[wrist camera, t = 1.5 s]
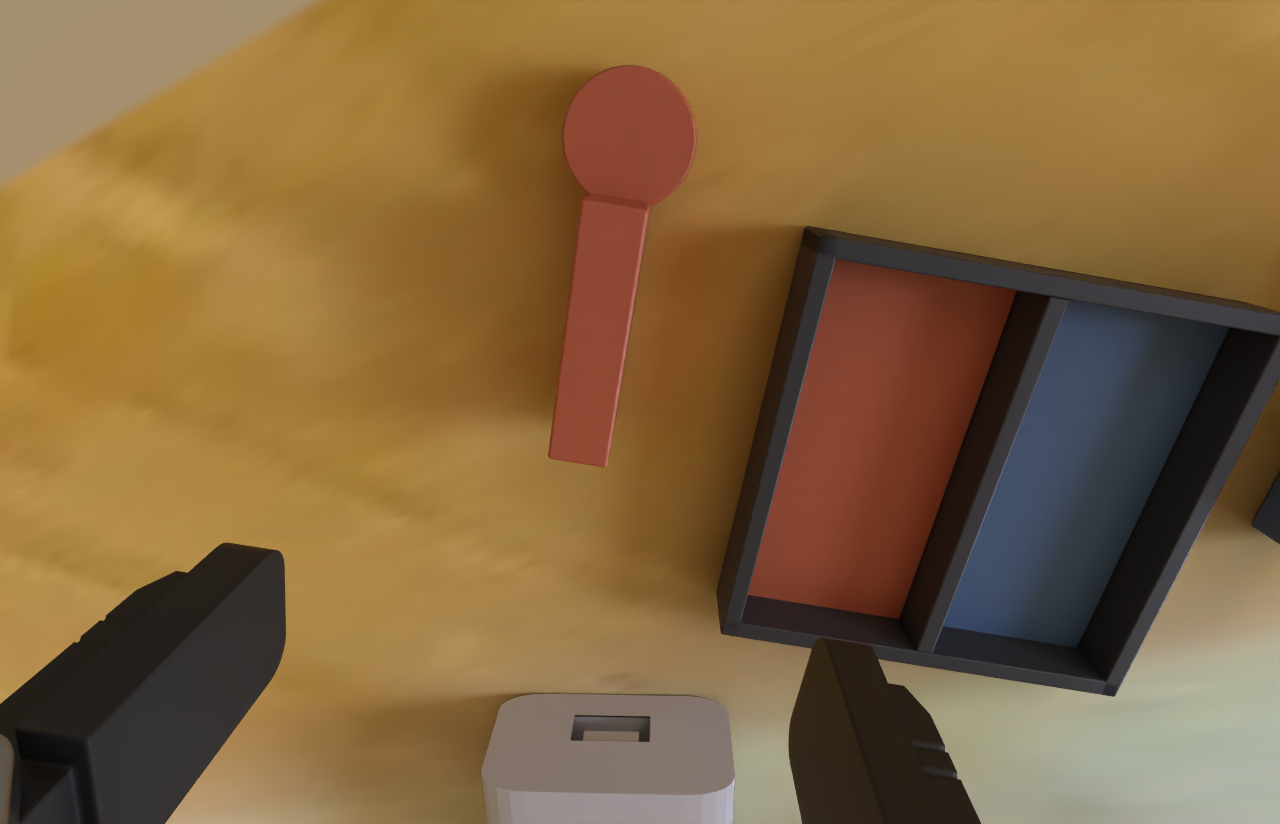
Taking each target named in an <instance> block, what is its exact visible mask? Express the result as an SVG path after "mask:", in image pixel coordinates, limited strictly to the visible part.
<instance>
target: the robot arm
mask: <svg viewBox="0 0 1280 824" xmlns="http://www.w3.org/2000/svg"><path fill="white" fill-rule="evenodd" d="M285 639H286V617H285V567H284V559H283V556H282V554H281V553H280V552H279V551H278V550H271V549H265V548H259V547H252V546H246V545H239V544H233V543H223V544H221V545H219V546H218V547H216V548H215V549H214V550H213V551H212V552H211V553H210V554H208V555H207V556H206V557H205V558H204V559H203V560H202V561H201V562H199V563H198V564H197V565H196V566H195V567H194V568H193V569H192V570H191V571H189V572H188V573H186V572H180V571H175V572H173V573H171V574H169V575H167V576H165V577H163V578H161V579H159V580H157V581H154V582H152V583H150V584H148V585H146V586H144V587H142V588H140V589H138V590H136V591H135V592H133V593H132V594H131V595H130V596H129V597H128V598H126V599H125V600H124V601H123V602H122V603H120V604H119V605H118V606H117V607H116V608H114V609H113V610H112V611H111V612H110V613H108V614H107V615H106V619H105V620H104V621H99V622H98V623H97V624H95V625H94V626H93V627H92V628H91V629H89V630H88V631H87V632H86V633H85V634H83V635H82V636H81V639H80V641H79V642H78V643H76V642H74V643H73V644H71V645H70V646H69V647H68V648H67V649H66V650H64V651H63V652H62V653H61V654H60V655H58V656H57V657H56V658H55V659H54V660H52V661H51V662H50V663H49V664H48V665H46V666H45V667H44V668H43V669H42V670H40V671H39V672H38V673H37V674H36V675H34V676H33V677H32V678H31V679H30V680H29V681H27V682H26V683H25V684H24V685H23V686H21V687H20V688H19V689H18V690H17V691H15V692H14V693H13V694H12V695H11V696H9V697H8V698H7V699H6V700H5V701H3V702H2V703H1V704H0V824H165V823H166V821H167V820H168V819H169V817H170V816H171V815H172V813H173V812H174V811H175V809H176V808H177V806H178V805H179V804H180V802H181V801H182V800H183V798H184V797H185V796H186V794H187V793H188V792H189V790H190V789H191V788H192V786H193V785H194V784H195V782H196V781H197V779H198V778H199V777H200V775H201V774H202V773H203V771H204V770H205V769H206V767H207V766H208V765H209V763H210V762H211V761H212V759H213V758H214V756H215V755H216V754H217V752H218V751H219V750H220V748H221V747H222V746H223V744H224V743H225V742H226V740H227V739H228V738H229V736H230V735H231V733H232V732H233V731H234V729H235V728H236V727H237V725H238V724H239V723H240V721H241V720H242V719H243V717H244V716H245V715H246V713H247V712H248V710H249V709H250V708H251V706H252V705H253V704H254V702H255V701H256V700H257V698H258V697H259V696H260V694H261V693H262V692H263V690H264V689H265V687H266V686H267V685H268V683H269V682H270V681H271V679H272V678H273V676H274V674H275V672H276V670H277V668H278V666H279V663H280V661H281V658H282V654H283V651H284V646H285ZM789 759H790V765H791V770H792V774H793V779H794V784H795V789H796V794H797V799H798V804H799V809H800V814H801V819H802V824H981V822H980V820H979V818H978V816H977V814H976V812H975V810H974V807H973V805H972V803H971V801H970V799H969V797H968V794H967V792H966V790H965V788H964V786H963V784H962V782H961V780H959V779H957V771H956V769H955V767H954V764H953V762H952V760H951V758H950V756H949V754H948V753H947V752H945V745H944V743H943V741H942V739H941V737H940V734H939V732H938V730H937V728H936V726H935V724H934V722H933V719H932V717H931V715H930V714H929V713H928V712H927V711H926V709H925V708H924V707H923V706H922V705H921V704H920V703H919V702H918V701H917V700H916V699H915V697H914V696H913V695H912V694H911V693H910V692H909V691H908V690H907V689H906V688H905V686H901V685H895V684H888V683H887V680H886V678H885V676H884V673H883V671H882V668H881V666H880V663H879V661H878V659H877V656H876V654H875V652H874V650H873V648H872V647H871V646H870V645H867V644H861V643H854V642H848V641H842V640H835V639H829V638H822V637H820V638H818V639H817V640H816V641H815V643H814V645H813V648H812V651H811V654H810V657H809V660H808V664H807V667H806V670H805V674H804V677H803V680H802V683H801V687H800V690H799V693H798V696H797V700H796V703H795V706H794V710H793V713H792V717H791V721H790V728H789Z"/></svg>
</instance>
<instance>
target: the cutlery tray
mask: <svg viewBox="0 0 1280 824" xmlns="http://www.w3.org/2000/svg"><path fill="white" fill-rule="evenodd" d="M1279 378H1280V312H1278V311H1275V310H1271V309H1267V308H1264V307H1260V306H1257V305H1253V304H1249V303H1246V302H1241V301H1235V300H1229V299H1224V298H1218V297H1212V296H1206V295H1201V294H1195V293H1189V292H1183V291H1178V290H1172V289H1166V288H1160V287H1155V286H1149V285H1143V284H1138V283H1132V282H1126V281H1120V280H1115V279H1109V278H1103V277H1097V276H1092V275H1086V274H1080V273H1074V272H1069V271H1063V270H1057V269H1051V268H1046V267H1040V266H1034V265H1029V264H1023V263H1017V262H1011V261H1006V260H1000V259H994V258H988V257H983V256H977V255H971V254H965V253H960V252H954V251H948V250H943V249H937V248H931V247H925V246H920V245H914V244H908V243H902V242H897V241H891V240H885V239H879V238H874V237H868V236H862V235H856V234H851V233H845V232H839V231H834V230H828V229H822V228H816V227H811V226H806V227H805V229H804V233H803V237H802V241H801V245H800V249H799V253H798V258H797V262H796V266H795V270H794V274H793V278H792V282H791V286H790V291H789V295H788V299H787V303H786V307H785V311H784V315H783V320H782V324H781V328H780V332H779V336H778V340H777V344H776V348H775V353H774V357H773V361H772V365H771V369H770V373H769V377H768V381H767V386H766V390H765V394H764V398H763V402H762V406H761V410H760V414H759V419H758V423H757V427H756V431H755V435H754V439H753V443H752V447H751V452H750V456H749V460H748V464H747V468H746V472H745V476H744V481H743V485H742V489H741V493H740V497H739V501H738V505H737V509H736V514H735V518H734V522H733V526H732V530H731V534H730V538H729V542H728V547H727V551H726V555H725V559H724V563H723V567H722V571H721V575H720V580H719V584H718V588H717V592H716V593H717V602H718V611H719V620H720V630H721V634H724V635H731V636H737V637H743V638H749V639H756V640H762V641H768V642H775V643H781V644H787V645H793V646H800V647H806V648H813V645H814V643H815V641H816V640H817V639H818V638H820V637H822V638H829V639H835V640H842V641H848V642H854V643H861V644H867V645H870V646H871V647H872V648H873V650H874V652H875V654H876V656H877V659H881V660H888V661H894V662H900V663H907V664H913V665H919V666H925V667H932V668H938V669H944V670H951V671H957V672H963V673H969V674H976V675H982V676H988V677H995V678H1001V679H1007V680H1013V681H1020V682H1026V683H1032V684H1039V685H1045V686H1051V687H1057V688H1064V689H1070V690H1076V691H1083V692H1089V693H1095V694H1101V695H1107V696H1113V697H1114V696H1115V695H1116V694H1117V692H1118V690H1119V688H1120V686H1121V684H1122V682H1123V680H1124V678H1125V676H1126V674H1127V672H1128V670H1129V668H1130V666H1131V664H1132V663H1133V661H1134V659H1135V657H1136V655H1137V653H1138V651H1139V649H1140V647H1141V645H1142V643H1143V641H1144V639H1145V637H1146V635H1147V634H1148V632H1149V630H1150V628H1151V626H1152V624H1153V622H1154V620H1155V618H1156V616H1157V614H1158V612H1159V610H1160V608H1161V606H1162V605H1163V603H1164V601H1165V599H1166V597H1167V595H1168V593H1169V591H1170V589H1171V587H1172V585H1173V583H1174V581H1175V579H1176V577H1177V576H1178V574H1179V572H1180V570H1181V568H1182V566H1183V564H1184V562H1185V560H1186V558H1187V556H1188V554H1189V552H1190V550H1191V548H1192V547H1193V545H1194V543H1195V541H1196V539H1197V537H1198V535H1199V533H1200V531H1201V529H1202V527H1203V525H1204V523H1205V521H1206V519H1207V518H1208V516H1209V514H1210V512H1211V510H1212V508H1213V506H1214V504H1215V502H1216V500H1217V498H1218V496H1219V494H1220V492H1221V490H1222V489H1223V487H1224V485H1225V483H1226V481H1227V479H1228V477H1229V475H1230V473H1231V471H1232V469H1233V467H1234V465H1235V463H1236V461H1237V460H1238V458H1239V456H1240V454H1241V452H1242V450H1243V448H1244V446H1245V444H1246V442H1247V440H1248V438H1249V436H1250V434H1251V432H1252V431H1253V429H1254V427H1255V425H1256V423H1257V421H1258V419H1259V417H1260V415H1261V413H1262V411H1263V409H1264V407H1265V405H1266V403H1267V402H1268V400H1269V398H1270V396H1271V394H1272V392H1273V390H1274V388H1275V386H1276V384H1277V382H1278V380H1279Z"/></svg>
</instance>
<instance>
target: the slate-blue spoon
mask: <svg viewBox="0 0 1280 824" xmlns="http://www.w3.org/2000/svg"><path fill="white" fill-rule="evenodd" d="M1252 526H1253V527H1254V528H1256V529H1257V530H1259V531H1260V532H1262V533H1263V534H1265V535H1266V536H1268V537H1270V538H1271V539H1273V540H1274V541H1276V542H1277V543H1279V544H1280V474H1279V476H1278V478H1277V480H1276V481H1275V483H1274V485H1273V487H1272V489H1271V491H1270V492H1269V494H1268V496H1267V498H1266V500H1265V502H1264V503H1263V505H1262V507H1261V509H1260V511H1259V513H1258V514H1257V516H1256V518H1255V520H1254V522H1253V524H1252Z"/></svg>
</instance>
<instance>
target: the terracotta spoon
mask: <svg viewBox="0 0 1280 824" xmlns="http://www.w3.org/2000/svg"><path fill="white" fill-rule="evenodd" d="M562 144H563V151H564V156H565V159H566V162H567V165H568V167H569V169H570V172H571V174H572V175H573V177H574V178H575V180H576V181H577V183H578V184H579V185H580V186H581V188H582V189H583V190H585V191H586V192H587V193H588V194H589V195H588V196H586V197H585V198H583V199H582V201H581V204H580V212H579V220H578V228H577V235H576V243H575V251H574V259H573V266H572V274H571V282H570V289H569V297H568V305H567V313H566V320H565V328H564V336H563V344H562V351H561V359H560V367H559V375H558V382H557V390H556V398H555V406H554V413H553V421H552V429H551V437H550V444H549V452H548V456H549V458H551V459H556V460H562V461H568V462H574V463H580V464H586V465H593V466H599V467H606V466H607V464H608V459H609V453H610V448H611V442H612V437H613V432H614V426H615V421H616V415H617V409H618V403H619V397H620V391H621V385H622V378H623V372H624V366H625V360H626V354H627V348H628V342H629V336H630V330H631V323H632V317H633V311H634V305H635V299H636V293H637V287H638V281H639V275H640V269H641V262H642V256H643V250H644V244H645V238H646V232H647V226H648V220H649V214H650V208H651V205H653V204H655V203H657V202H660V201H661V200H663V199H664V198H666V197H667V196H669V195H670V194H671V193H672V192H673V191H674V190H675V189H676V188H677V187H678V186H679V185H680V184H681V182H682V181H683V179H684V178H685V177H686V175H687V173H688V171H689V169H690V166H691V164H692V161H693V157H694V153H695V147H696V128H695V122H694V118H693V114H692V111H691V109H690V106H689V104H688V102H687V101H686V99H685V97H684V95H683V94H682V93H681V91H680V90H679V89H678V88H677V87H676V86H675V85H674V84H673V83H672V82H671V81H670V80H669V79H667V78H666V77H665V76H663V75H661V74H660V73H658V72H656V71H654V70H651V69H649V68H645V67H641V66H633V65H625V66H617V67H612V68H609V69H606V70H604V71H602V72H600V73H598V74H596V75H594V76H593V77H592V78H590V79H589V80H588V81H587V82H586V83H584V84H583V85H582V86H581V88H580V89H579V90H578V91H577V92H576V94H575V95H574V97H573V99H572V100H571V102H570V104H569V106H568V109H567V111H566V115H565V118H564V123H563V130H562Z"/></svg>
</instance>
